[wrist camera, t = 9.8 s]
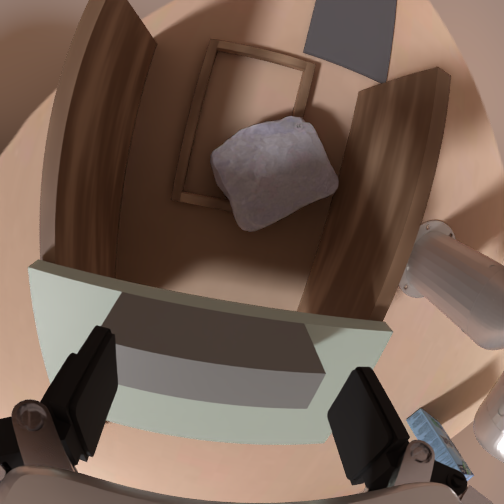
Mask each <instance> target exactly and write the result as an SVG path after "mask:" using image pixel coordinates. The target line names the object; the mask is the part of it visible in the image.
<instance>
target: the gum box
mask: <svg viewBox="0 0 504 504" xmlns="http://www.w3.org/2000/svg"><path fill="white" fill-rule="evenodd" d="M406 421H407V422H408V424H409V426H410V428H411V429H412V431H413V433H414V434H415V436H416V437H417V439H418V440H422V441H425V442H426V443H428V444H429V445H430V446H431V447H432V448H433V450H434V453H435V460H436V461H438V462H440V463H443V464H445V465H447V466H449V467H451V468H454V469H456V470H458V471H460V472H462V473H463V474H464V476H465V477H466V480H467V481H468V480H469V479H470V478H472V477H473V476H474V475H473V473H472V472H471V470H470V469H469V467H468V466H467V464H466V462H465V461H464V459H463V458H462V456H461V455H460V453H459V451H458V450H457V448H456V447H455V445H454V444H453V442H452V441H451V439H450V438H449V436H448V435H447V433H446V432H445V430H444V429H443V427H442V426H441V424H440V423H439V422H438V421H437V420H436V419H434V418H433V417H432V416H431V415H429V414H428V413H427V412H426V411H424V410H423V409H422V408H420V409H419V410H418V411H416V412H415V413H414V414H413V415H411V416H410V417H409V418H408V419H407V420H406Z"/></svg>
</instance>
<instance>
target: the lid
mask: <svg viewBox="0 0 504 504" xmlns="http://www.w3.org/2000/svg"><path fill="white" fill-rule="evenodd" d="M28 273H29V283H30V291H31V299H32V306H33V312H34V318H35V323H36V329H37V333H38V338H39V343H40V347H41V351H42V355H43V359H44V363H45V367H46V371H47V374H48V378H49V381H50V384H51V383H52V381H53V380H54V378H55V376H56V375H57V373H58V371H59V370H60V368H61V367H62V365H63V364H64V362H65V360H66V359H67V357H68V356H69V355H70V354H71V353H76V354H77V353H78V352H79V350H80V348H81V347H82V345H83V344H84V342H85V341H86V339H87V338H88V336H89V334H90V333H91V331H92V330H93V328H94V327H95V326H96V325H98V326H102V327H105V328H109V329H111V333H112V334H115V340H116V360H117V374H118V389H117V392H116V395H115V397H114V400H113V402H112V405H111V408H110V411H109V413H108V416H107V419H106V421H110V422H113V423H117V424H121V425H124V426H128V427H133V428H137V429H141V430H146V431H150V432H155V433H160V434H166V435H171V436H177V437H184V438H191V439H198V440H206V441H215V442H226V443H240V444H262V445H296V444H318V443H324V442H325V441H326V440H327V438H328V437H329V436H330V434H331V433H332V430H331V427H330V424H329V421H328V418H327V413H328V410H329V409H330V407H331V405H332V404H333V402H334V401H335V399H336V397H337V396H338V394H339V392H340V391H341V389H342V387H343V385H344V384H345V382H346V380H347V378H348V377H349V375H350V373H351V372H352V370H355V368H356V367H371V368H372V369H373V368H374V367H375V365H376V363H377V361H378V360H379V358H380V356H381V354H382V352H383V350H384V349H385V347H386V345H387V343H388V341H389V339H390V337H391V335H392V333H393V331H392V330H391V328H390V327H389V326H388V325H387V324H386V322H382V321H372V320H362V319H353V318H344V317H335V316H327V315H319V314H311V313H303V312H296V311H289V310H282V309H275V308H268V307H262V306H255V305H249V304H243V303H237V302H231V301H225V300H219V299H213V298H208V297H202V296H197V295H191V294H186V293H181V292H176V291H171V290H166V289H161V288H156V287H151V286H146V285H142V284H137V283H132V282H128V281H123V280H119V279H114V278H110V277H106V276H101V275H97V274H93V273H89V272H85V271H81V270H77V269H73V268H69V267H65V266H61V265H57V264H53V263H50V262H46V261H42V260H39V259H38V260H37V261H35V262H34V263H33V264H31V265H30V266H29V267H28Z"/></svg>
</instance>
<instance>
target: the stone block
mask: <svg viewBox="0 0 504 504" xmlns="http://www.w3.org/2000/svg"><path fill="white" fill-rule="evenodd" d="M210 163H211V166H212V170H213V173H214V176H215V180H216V183H217V185H218V187H219V188H220V189H221V190H222V191H223V193H224V195H226V196H227V198H228V199H229V201H230V204H231V207H232V209H233V214H234V218H235V220H236V222H237V224H238V226H239V227H240V228H242V229H243V230H245V231H249V232H250V231H257V230H259V229H261V228H264V227H266V226H269V225H271V224H273V223H275V222H276V221H278V220H280V219H282V218H284V217H286V216H288V215H290V214H292V213H293V212H295V211H296V210H298V209H300V208H302V207H303V206H305V205H307V204H310V203H312V202H314V201H316V200H319V199H322V198H326V197H328V196H330V195H332V194H334V193H335V191H336V190H337V189H338V184H339V180H338V177H337V174H336V173H335V172H334V169H333V167H332V166H331V164H330V162H329V159H328V157H327V154H326V152H325V150H324V148H323V145H322V143H321V141H320V139H319V137H318V134H317V132H316V130H315V129H314V127H313V126H312V125H311V124H310V123H307V122H305V121H304V120H303V119H302V118H300V117H294V116H288V117H285V118H283V119H280V120H276V121H268V122H264V123H260V124H256V125H252V126H250V127H247V128H244V129H241V130H239V131H238V132H237V133H236V134H235V135H233V136H232V137H231V138H230V139H228V140H226V141H225V143H224V144H222V145H221V146H219V147H218V148H217V149H215V150H214V151H213V152H212V154H211V159H210Z"/></svg>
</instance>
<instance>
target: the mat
mask: <svg viewBox="0 0 504 504" xmlns="http://www.w3.org/2000/svg"><path fill="white" fill-rule="evenodd" d="M396 1H397V0H316V3H315V7H314V11H313V15H312V19H311V23H310V27H309V31H308V35H307V39H306V43H305V47H304V51H303V53H306V54H309V55H312V56H315V57H318V58H321V59H323V60H326V61H329V62H332V63H334V64H337V65H340V66H342V67H345V68H347V69H350V70H352V71H355V72H357V73H359V74H362V75H364V76H366V77H368V78H371V79H373V80H375V81H377V82H379V83H381V84H382V83H385V82H386V79H387V73H388V67H389V61H390V54H391V47H392V39H393V31H394V22H395V13H396Z"/></svg>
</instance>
